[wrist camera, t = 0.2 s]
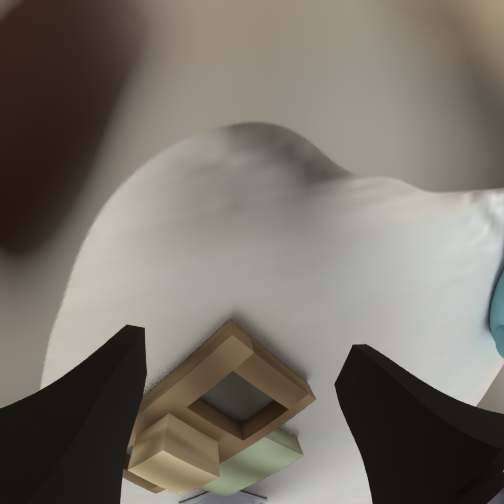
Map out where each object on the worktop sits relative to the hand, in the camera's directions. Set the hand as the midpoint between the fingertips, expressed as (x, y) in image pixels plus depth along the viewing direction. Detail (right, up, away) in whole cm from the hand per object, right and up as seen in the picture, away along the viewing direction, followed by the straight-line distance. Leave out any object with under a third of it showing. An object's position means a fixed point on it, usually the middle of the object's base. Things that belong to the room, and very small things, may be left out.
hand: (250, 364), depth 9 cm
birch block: (-6, -12, +9) cm, 16 cm away
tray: (-4, -14, +13) cm, 19 cm away
